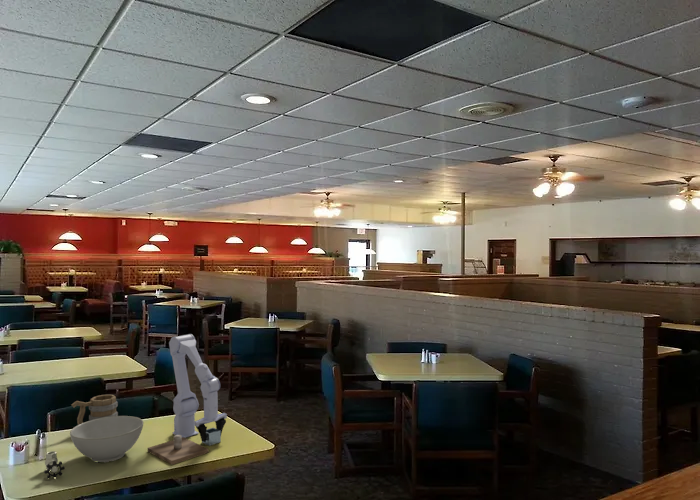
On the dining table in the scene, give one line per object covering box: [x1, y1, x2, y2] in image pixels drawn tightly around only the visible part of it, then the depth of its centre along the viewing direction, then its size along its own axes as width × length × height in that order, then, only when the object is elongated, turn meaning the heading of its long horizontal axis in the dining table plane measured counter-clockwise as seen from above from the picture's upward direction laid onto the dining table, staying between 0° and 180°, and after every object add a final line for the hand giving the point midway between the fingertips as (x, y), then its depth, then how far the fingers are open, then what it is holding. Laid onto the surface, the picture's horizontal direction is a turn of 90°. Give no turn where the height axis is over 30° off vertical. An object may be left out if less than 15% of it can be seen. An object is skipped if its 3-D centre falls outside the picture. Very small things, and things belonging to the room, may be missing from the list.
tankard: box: [71, 394, 119, 425], centre depth 246 cm, size 20×13×15 cm, turn 133°
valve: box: [43, 450, 66, 479], centre depth 198 cm, size 7×7×12 cm
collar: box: [201, 427, 222, 447], centre depth 228 cm, size 6×6×5 cm
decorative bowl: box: [69, 415, 144, 463], centre depth 214 cm, size 27×27×12 cm
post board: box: [147, 434, 209, 465], centre depth 217 cm, size 20×16×6 cm
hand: (211, 438), depth 228 cm, fingers open, 7 cm apart
